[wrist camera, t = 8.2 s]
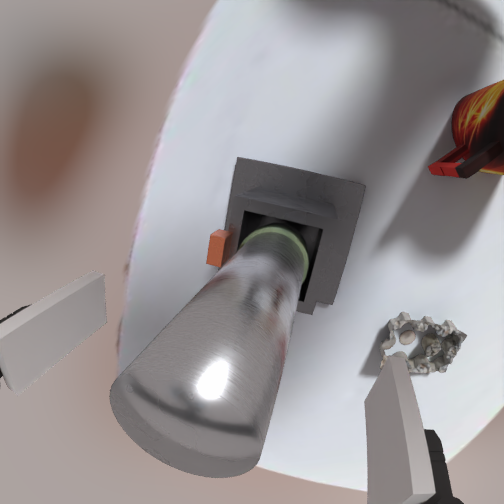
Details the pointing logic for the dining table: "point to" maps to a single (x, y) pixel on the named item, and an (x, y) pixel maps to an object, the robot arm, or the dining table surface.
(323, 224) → the stand
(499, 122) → the mug
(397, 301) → the dining table surface
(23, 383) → the robot arm
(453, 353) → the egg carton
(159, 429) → the column
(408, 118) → the dining table surface
